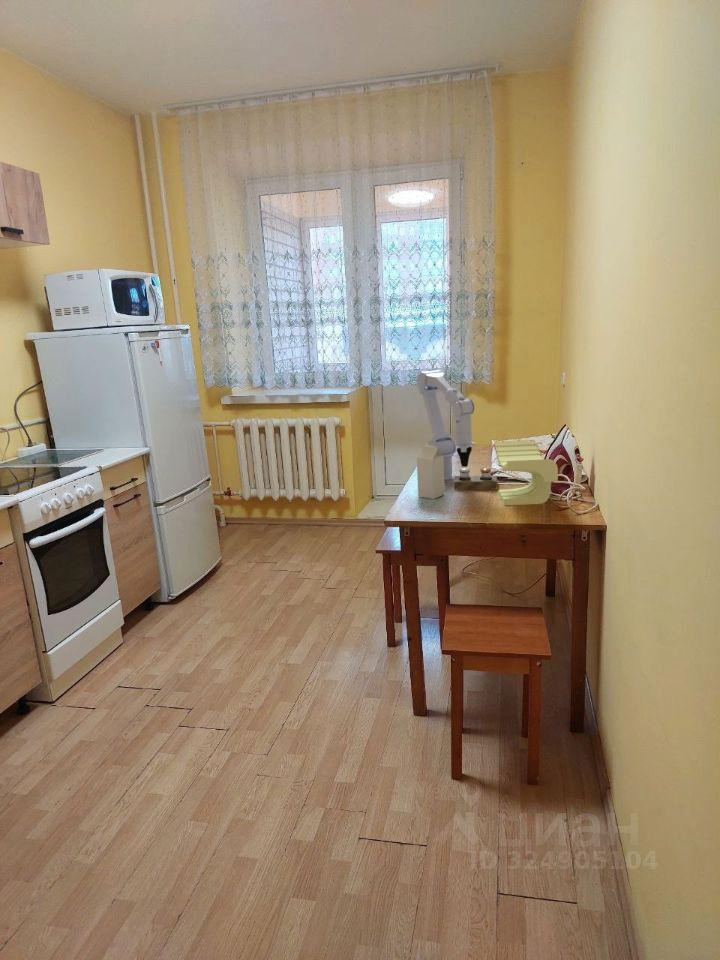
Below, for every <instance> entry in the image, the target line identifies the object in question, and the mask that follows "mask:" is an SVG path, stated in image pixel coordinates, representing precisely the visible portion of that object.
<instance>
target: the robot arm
mask: <svg viewBox="0 0 720 960" xmlns="http://www.w3.org/2000/svg"><path fill="white" fill-rule="evenodd" d="M417 374H418V375H417V378H416V379H417V380H416V383H417V386H418V390H419V393H420V394H421V396H422V398H423V401H424V407H425V410H426V413H427V417H428V421H429V424H430V427H431V432H432V436H431V437H430V438H429V439H428V446H435V447H438V450H439V451H440V452H441V453H442V454H443V456H444V481H448V480H450V481H451V480H452V481H453V480H454V477H455V476H454V475H455V474H454V473H453V457H454V454H455V453H457V454H458V456H459V460H460V465H461V467H462V468H468V465H469V459H470V455H471V453H472V450H473V449H472V446H475V445H476V442H474V441H472V439H473V436H472V435H473V433H472V432H473V431H472V414H474V411H475V403H474V401H473V399H472V398H466V397H464V395H463V394H462V393H461V392H460V391H459V390H458V389H457V388H453V387H451V385H450V383H448V381H447V379H446V374H445V372H443V370H442V369H437V370H430V371H429V370H428V371H419V373H417ZM439 392H441V393H443V394H444V399H445V401H446V403H448V404H449V405H450V407H451V409H452V413H453V415H454V416H453V417H454V418H453V419H454V420H455V428H456V431H455V432H456V433H455V434H456V436H455V437H456V439H455V440H456V442H455V440H454V437H453V435H452V434H450V433H449V432H447V431H446V429H445V424H444V422H443V417H442V413H441V410H440V406H439V402H438V399H437V394H438V393H439Z"/></svg>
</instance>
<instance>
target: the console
mask: <svg viewBox="0 0 720 960" xmlns="http://www.w3.org/2000/svg"><path fill="white" fill-rule="evenodd" d="M497 477H498V476H497V475H490V480H481V475H469V480H460V475H455V476H454V477H453V489H454V490H497V489H498V487H497V486H498V481H497Z"/></svg>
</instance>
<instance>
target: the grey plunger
mask: <svg viewBox="0 0 720 960" xmlns="http://www.w3.org/2000/svg"><path fill="white" fill-rule="evenodd" d="M458 470H459V471H458V472H459V474H460V475H459V476H460V480H469V476H470V471H471V469H470V468H468V467H462V468H459V469H458Z"/></svg>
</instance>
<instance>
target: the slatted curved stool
mask: <svg viewBox="0 0 720 960" xmlns="http://www.w3.org/2000/svg"><path fill="white" fill-rule="evenodd" d="M494 450H495V454H496V459H497V463H498V464H499V465H500V467H501V469H502V470H503V472H522V473H523V472H524V473H529V474H531V480H530V483H529V484H527V485H525V486H522V487H521V486H520V487H515V488H510V489H509V488H508V489H498V493H497V495H498V496H499V499H500V500H501V502H502V504H503V506H517V505H518V506H521V505H541V504H544V503H545V502H547V501H548V499H549V498H550V496H551V487H552V482H558V481H559V468H558V465H557V463H556V462H555V461H554V460H553V459H550V458H549V459H547V458H545V459H544V458H543V455H542V453H541V449H540V447H539V445H538V444H537V443H536V442H535V441H533V440H529V439H526V440H523V439H522V440H509V441H508V440H507V441H506V440H505V441H502V440H501V441H494Z"/></svg>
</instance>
